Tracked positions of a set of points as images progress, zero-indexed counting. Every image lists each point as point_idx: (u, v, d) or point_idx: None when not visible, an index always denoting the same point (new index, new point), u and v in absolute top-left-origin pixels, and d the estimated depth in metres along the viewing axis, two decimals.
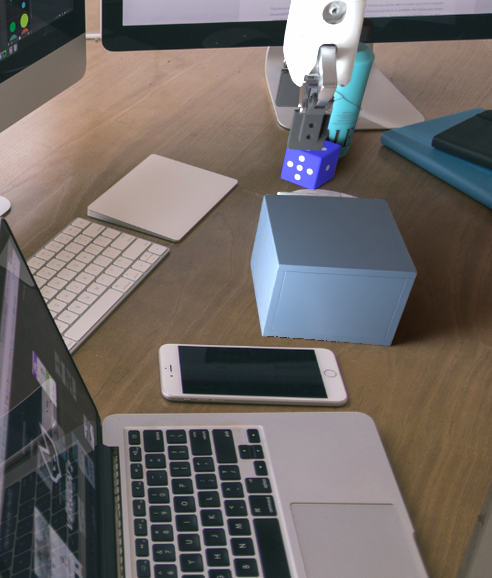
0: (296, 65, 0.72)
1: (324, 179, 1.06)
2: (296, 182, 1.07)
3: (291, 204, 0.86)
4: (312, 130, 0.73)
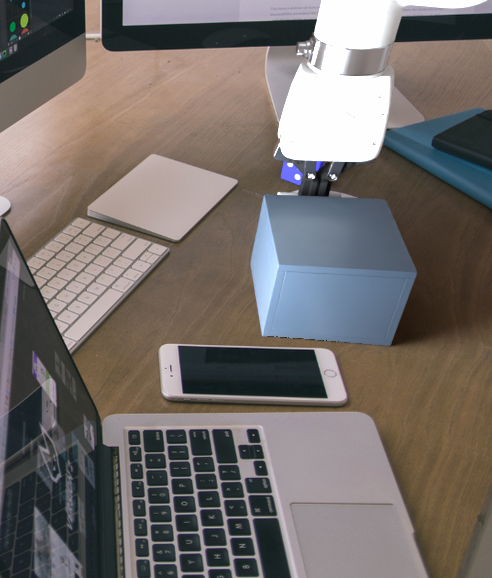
0: None
1: None
2: (296, 182, 1.07)
3: (291, 204, 0.86)
4: (301, 186, 0.90)
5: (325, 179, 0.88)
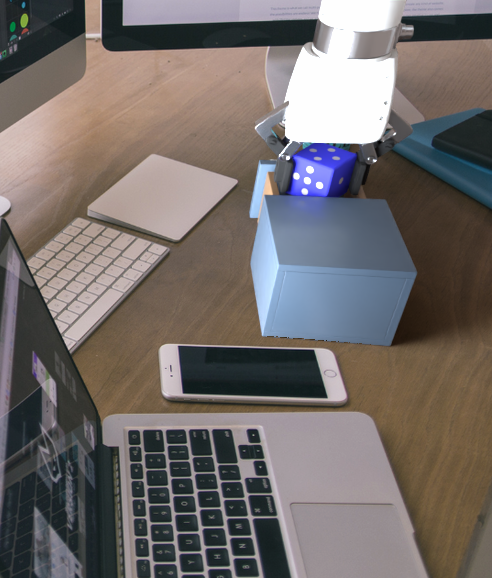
0: (377, 128, 0.82)
1: (337, 194, 0.89)
2: None
3: (291, 204, 0.86)
4: None
5: None
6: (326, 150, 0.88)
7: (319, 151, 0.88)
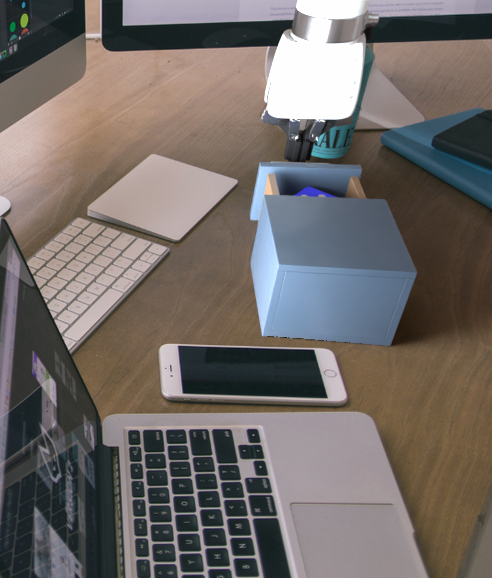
0: (348, 105, 0.93)
1: None
2: None
3: (291, 204, 0.86)
4: None
5: None
6: (317, 196, 0.91)
7: None
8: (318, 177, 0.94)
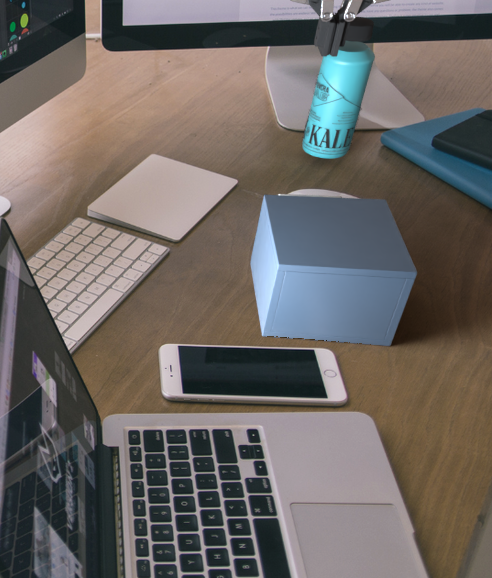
0: None
1: None
2: None
3: (291, 204, 0.86)
4: None
5: None
6: None
7: None
8: None
